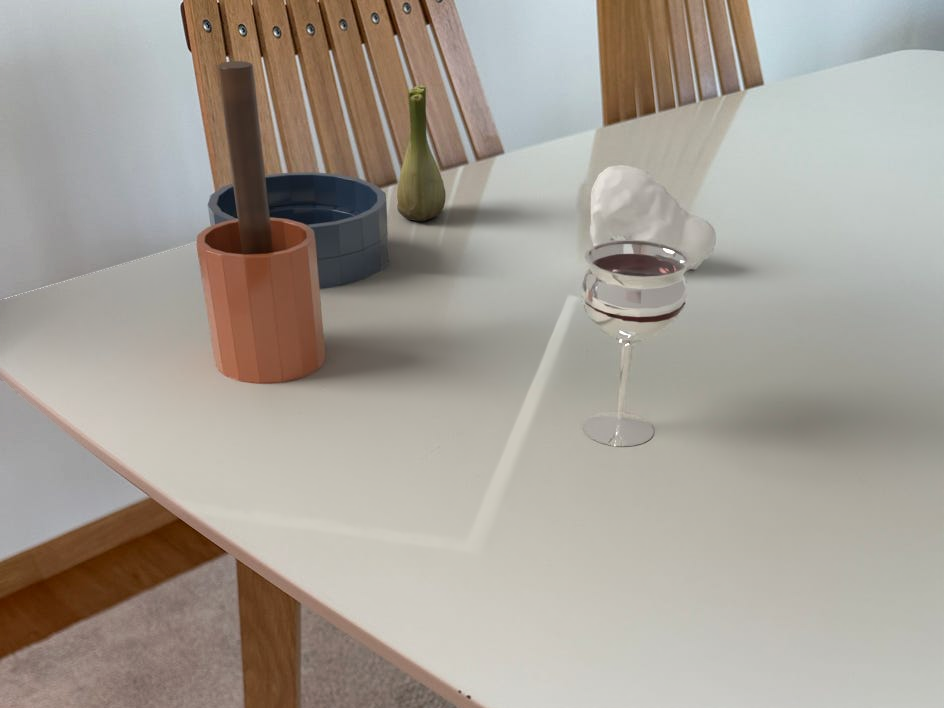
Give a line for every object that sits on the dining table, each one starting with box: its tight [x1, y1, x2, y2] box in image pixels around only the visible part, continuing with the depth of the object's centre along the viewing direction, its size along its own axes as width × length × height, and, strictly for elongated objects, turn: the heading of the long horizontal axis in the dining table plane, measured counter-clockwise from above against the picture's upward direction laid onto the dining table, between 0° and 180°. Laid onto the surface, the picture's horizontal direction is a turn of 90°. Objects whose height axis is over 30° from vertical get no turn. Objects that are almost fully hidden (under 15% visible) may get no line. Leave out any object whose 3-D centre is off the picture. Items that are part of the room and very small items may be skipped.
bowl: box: [207, 171, 390, 290], centre depth 95 cm, size 16×16×6 cm
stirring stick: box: [217, 60, 274, 255], centre depth 73 cm, size 3×2×20 cm
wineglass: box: [581, 239, 690, 447], centre depth 70 cm, size 7×7×12 cm
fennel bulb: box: [396, 84, 447, 222], centre depth 104 cm, size 6×5×12 cm
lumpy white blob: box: [589, 164, 717, 272], centre depth 95 cm, size 6×8×12 cm
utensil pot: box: [195, 217, 326, 385], centre depth 77 cm, size 8×8×10 cm
